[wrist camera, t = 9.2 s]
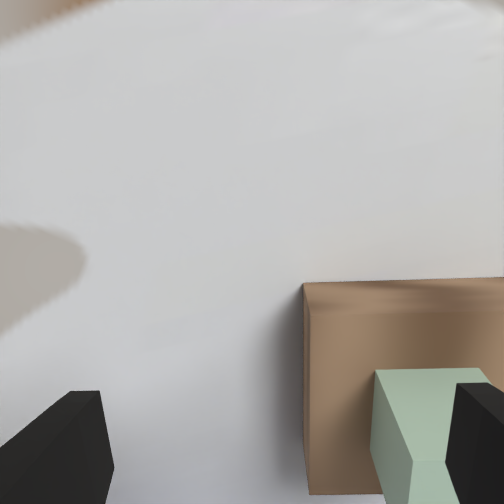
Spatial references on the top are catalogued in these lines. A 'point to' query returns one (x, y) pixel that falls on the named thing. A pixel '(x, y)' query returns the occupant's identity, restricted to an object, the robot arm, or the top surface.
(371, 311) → the walnut base block
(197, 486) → the top surface
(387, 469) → the sage block
